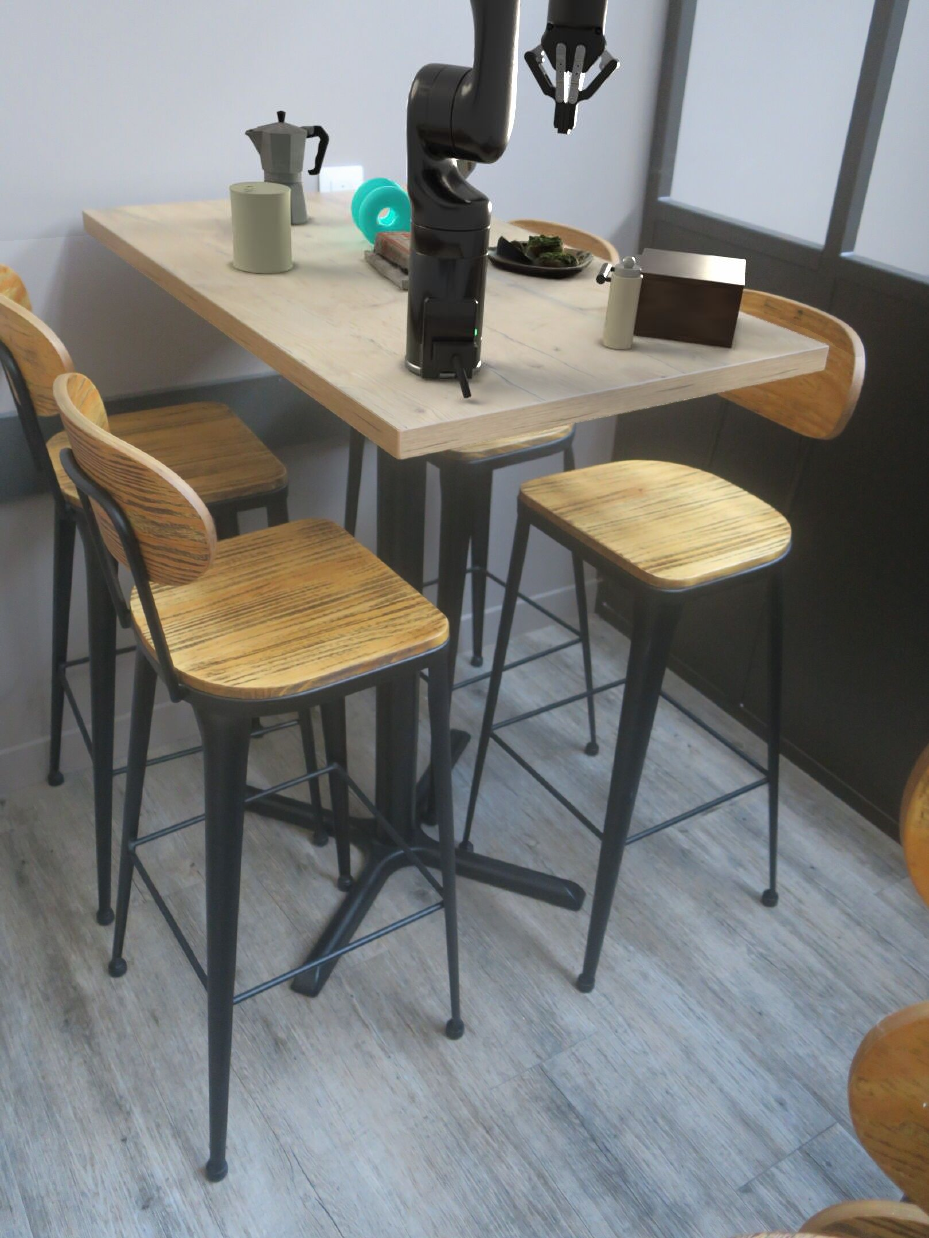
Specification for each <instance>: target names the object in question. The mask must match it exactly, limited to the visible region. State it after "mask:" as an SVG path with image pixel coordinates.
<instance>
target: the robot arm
mask: <svg viewBox="0 0 929 1238" xmlns="http://www.w3.org/2000/svg"><path fill="white" fill-rule="evenodd" d="M468 1H469V5H470V11H471V16H472V24H473V54H472V55H473V56H472V57H473V58H472V66H466V65H465V66H464V65H457V64H450V63H441V62H429V63H427V64H424V65H423V66H421V68H419V69H418V71H417V72H416V73H415V75H414V77H413V79H412V81H411V84H410V87H409V91H408V96H407V101H406V112H405V147H406V148H405V149H406V151H405V152H406V154H405V155H406V191H407V192H406V193H407V194H408V197H409V201H410V205H411V229H410V253H409V280H408V289H407V308H406V338H405V340H406V341H405V355H404V366H405V368H406V369H407V370H408V371H410V372H411V373H414V374H417V375H419V376H420V378H421V379H424V380H427V379H430V380H431V379H433V380H458V382H459V386H460V391H461V393H462V397H463V399H469V398H471V397H472V392H471V388H470V385H469V380H472V379H473V376H474V375H476V374H478V373H479V372H480V371H481V368H482V367H481V366H482V360H481V356H482V355H481V353H482V341H483V327H484V315H485V314H484V312H485V302H486V301H485V300H486V288H487V274H488V261H489V260H488V250H489V247H490V235H491V233H490V232H491V221H492V202H491V200H490V198H489V197H488V196H487V195H486V194H485V193H484V192H482V191H480V190H479V189H478V188H476V187H475V186H473V184H471V183H470V182H469V181H468V180H467V179H465V178H464V177H463V176H462V175H461V173H460V171H459V170H458V168H457V164H456V160H462V161H468V162H474V163H477V164H480V165H481V164H482V165H492V164H494V163H497V162H498V161H499V160H500V159H501V158H502V156H503V155H504V153H505V152H506V150H507V147H508V145H509V142H510V139H511V135H512V131H513V126H514V120H515V115H516V114H515V113H516V103H517V102H516V101H517V87H518V86H517V83H518V62H519V43H520V41H519V40H520V18H521V17H520V16H521V7H522V6H521V4H522V0H468ZM608 3H609V0H548V3H547V12H546V13H547V14H546V24H545V25H546V26H545V29H544V32H543V33H542V35H541V38H540V43H539V44H537V45H536V46H535V47H534V48H532V49H531V50H527V51H525V53H524V54H523V59H524V61H525V63H526V65H527V67H528V68H529V70H530V72H531V74H532V75H533V77H534V79H535V81H536V83H537V84H538V86H539V88H540V90H541V92H542V93H543V95H544V96H547V97H549V98H551V99H552V100H554V103H555V105H554V114H553V128H554V129H557V134H561V135H569V134H570V132H571V131H573V130H575V127H576V125H577V124H576V123H577V115H578V108H579V107H578V106H579V104H580V102H582V101H588V100H589V99H591V98H592V97H594V95H595V94H596V93H597V92H598V91H599V89H600V88H601V87H602V86H603V85H604V84H605V83H606V82H607V80H608V79H609V78H610V77H611V76H612V75H613V73H614V72H616V70H617V69H618V68H619V67H620V60H619V59H618V58H615V57H614V56H613V55H612V53H611V52H609V50H608V49H607V45H608V43H607V39H606V37H605V28H606V20H607V14H608V13H607V11H608ZM544 54H545V55H546V58H547V60H548V61H549V64H550V66H551V67H552V69H553V70H554V71H555V85H554V84H553V82H552V80H551V78H550V77H549V76H550V75H548V73H547V71H546V69H545V67H544V65H543V63H544V61H545V57H544ZM600 58H601V59H600ZM599 59H600V62H599V64H598V68H599V70H600V72H599V73H598V74H597V75H596V76H595V77H594V78H593V80H592V81H591V82H590V83H589V84H588V85H587V87H585V88H583V89H582V87H583V83H584V78H585V74H586V73H588V72H589V71H590V70H591V69H592V67H593V66H594V65H595V64H596V63H597V61H598V60H599ZM569 73H571V77H570V75H569ZM569 77H570V78H569ZM569 79H570V86H568V85H569ZM568 88H569V91H568Z"/></svg>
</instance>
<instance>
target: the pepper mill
mask: <svg viewBox="0 0 929 1238" xmlns="http://www.w3.org/2000/svg"><path fill="white" fill-rule="evenodd" d="M614 267H615V271H614V272H611V276H610V277H611V282H609V283H610V284H609V290H608V297H607V306H606V313H605V320H604V327H603V334H602V342H601V344H602V346H604V347H605V348H609V349H613V350H629V349H631V348H632V346H633V340H634V335H633V334H634V328H635V321H636V315H637V308H638V302H639V295H640V289H641V282H642V275H641V267H640V266H638V265H635V260H634V256H631V255H628V256H625V257H624V258H623V260H622V262H620V263H616V264H615V265H614Z"/></svg>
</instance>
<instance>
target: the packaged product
mask: <svg viewBox="0 0 929 1238" xmlns="http://www.w3.org/2000/svg"><path fill="white" fill-rule="evenodd" d="M409 253H410V233H409V232H406V231H396V232H394V231H392V232H379V233H376V237H375V243H374V245H373V250H369V249H366V250H364V251H363V255H364V256H363V258H364V260H365V261H366V262H367V263H369V264H370V265H371V266H372V267H373V268H375V270H376V271H377V272H378V273H379V274H380V275H381V276H383V277H385V278H387V279H388V280H390V281H391V283H393V284H395V285H396V286H397V287H399V288H400V289H401V290H408V280H409Z"/></svg>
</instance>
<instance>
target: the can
mask: <svg viewBox="0 0 929 1238" xmlns="http://www.w3.org/2000/svg"><path fill="white" fill-rule="evenodd" d="M228 189H229V197H230V213H231V229H232V230H231V232H232V249H233V252H232V253H233V260H232V261H233V262H232V266H233V267H234V268H235V269H236V270H238V271H242V272H245V273H251V274H252V273H253V274H279V273H284V272H287V271H290V270H291V269H293V267H294V263H293V256H292V255H293V254H292V225H291V212H290V192H291V189H290V188H289V187H288V186H285V185H282V184H277V183H270V182H264V181H242V182H237V183H233V184H231V185H229V187H228Z"/></svg>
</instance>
